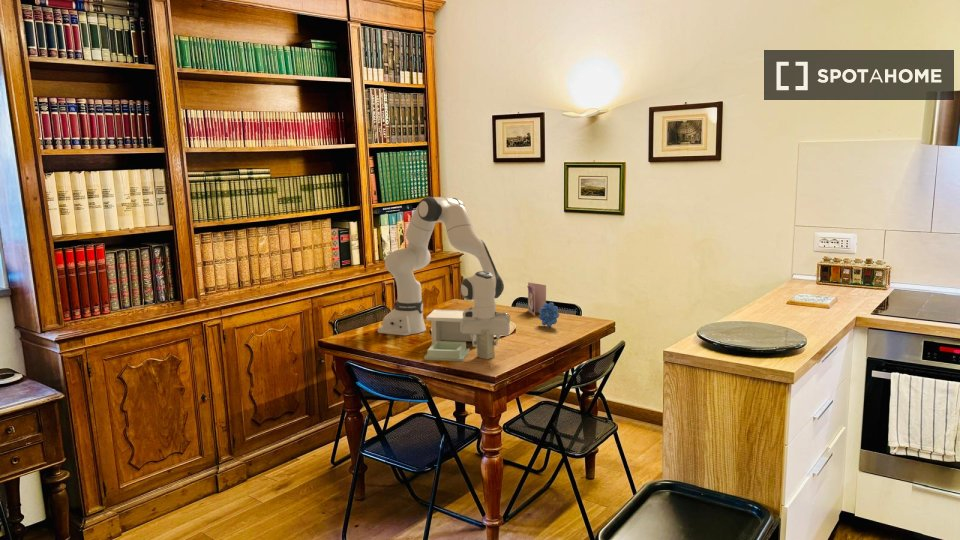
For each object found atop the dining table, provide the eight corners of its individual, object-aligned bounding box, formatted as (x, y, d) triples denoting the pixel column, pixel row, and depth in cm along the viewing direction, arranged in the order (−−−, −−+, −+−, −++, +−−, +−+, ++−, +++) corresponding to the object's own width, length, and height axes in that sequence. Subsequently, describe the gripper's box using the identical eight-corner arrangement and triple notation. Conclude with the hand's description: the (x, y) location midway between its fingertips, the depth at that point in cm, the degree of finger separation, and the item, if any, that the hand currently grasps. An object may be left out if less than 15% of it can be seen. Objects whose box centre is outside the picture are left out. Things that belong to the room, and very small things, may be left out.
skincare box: (494, 357, 280) (494, 328, 278) (487, 359, 277) (487, 330, 275) (483, 354, 284) (482, 325, 282) (476, 356, 281) (475, 328, 279)
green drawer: (424, 359, 278) (423, 350, 278) (432, 349, 292) (432, 340, 291) (462, 361, 275) (462, 351, 275) (469, 350, 289) (469, 341, 288)
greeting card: (526, 310, 355) (526, 282, 352) (540, 309, 357) (540, 281, 354) (533, 316, 344) (533, 286, 341) (547, 315, 346) (547, 286, 343)
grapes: (564, 327, 323) (564, 302, 321) (555, 330, 318) (555, 304, 316) (544, 322, 331) (544, 298, 329) (535, 325, 326) (535, 301, 324)
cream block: (427, 347, 294) (426, 317, 292) (435, 338, 308) (434, 309, 305) (477, 349, 290) (477, 318, 288) (483, 340, 304) (483, 310, 301)
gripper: (511, 310, 278) (511, 343, 281) (462, 309, 282) (462, 341, 285) (509, 314, 272) (509, 348, 275) (458, 313, 276) (459, 346, 278)
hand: (485, 344), depth 280 cm, fingers closed on skincare box, 7 cm apart
